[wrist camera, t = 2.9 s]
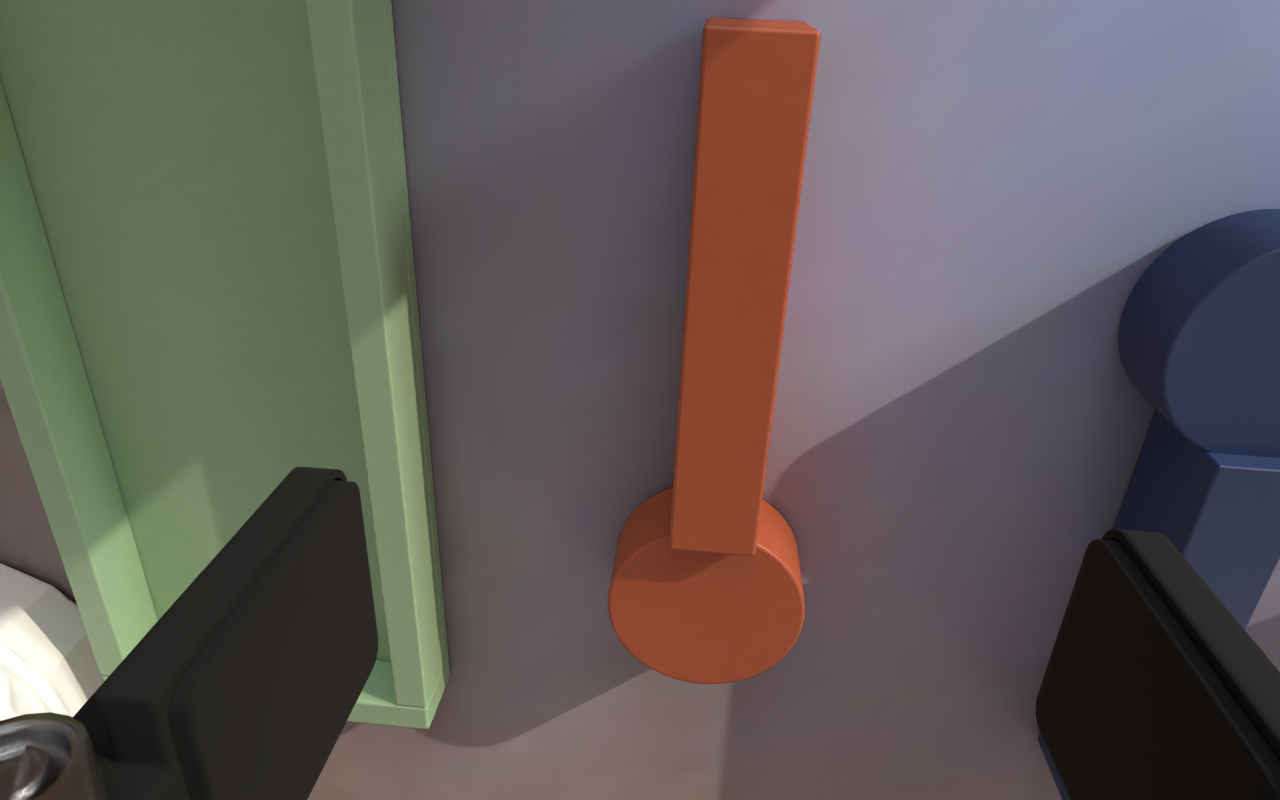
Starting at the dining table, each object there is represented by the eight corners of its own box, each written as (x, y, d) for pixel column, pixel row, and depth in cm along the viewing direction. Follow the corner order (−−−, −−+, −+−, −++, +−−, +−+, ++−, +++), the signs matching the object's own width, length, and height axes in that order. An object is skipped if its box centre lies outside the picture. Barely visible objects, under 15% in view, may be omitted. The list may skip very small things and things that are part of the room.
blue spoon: (1158, 751, 22) (1206, 838, 20) (986, 734, 22) (1015, 818, 20) (1402, 215, 16) (1515, 256, 13) (1157, 201, 16) (1227, 238, 14)
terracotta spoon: (635, 13, 15) (619, 20, 13) (881, 24, 15) (908, 34, 13) (615, 618, 22) (602, 692, 19) (787, 634, 21) (794, 710, 19)
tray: (-146, -344, 14) (-267, -388, 12) (362, -333, 13) (310, -377, 12) (151, 646, 24) (107, 698, 22) (450, 676, 23) (429, 731, 21)
